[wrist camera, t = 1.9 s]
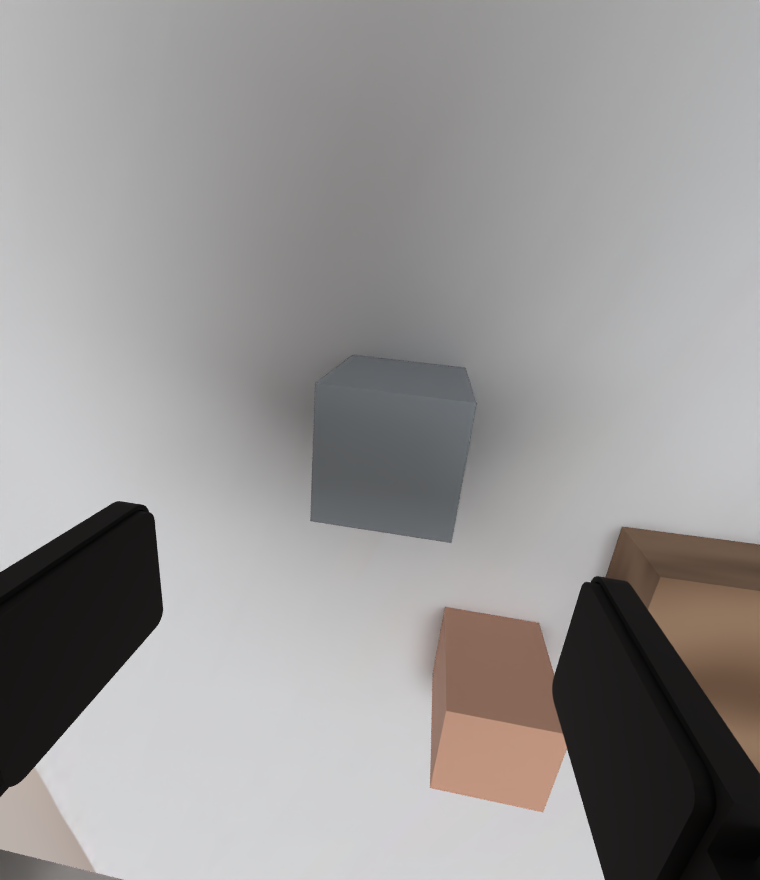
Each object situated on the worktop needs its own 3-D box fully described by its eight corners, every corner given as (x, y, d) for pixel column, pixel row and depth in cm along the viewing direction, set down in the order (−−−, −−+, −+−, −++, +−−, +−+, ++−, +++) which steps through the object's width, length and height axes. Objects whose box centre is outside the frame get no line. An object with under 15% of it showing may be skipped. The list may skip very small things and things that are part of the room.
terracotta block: (445, 606, 23) (446, 710, 17) (538, 622, 22) (571, 735, 16) (432, 673, 24) (430, 787, 19) (519, 689, 24) (543, 812, 18)
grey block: (352, 354, 18) (315, 383, 13) (465, 367, 18) (476, 402, 12) (346, 457, 20) (310, 521, 15) (448, 471, 20) (451, 542, 14)
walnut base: (619, 522, 20) (660, 576, 16) (849, 552, 19) (949, 618, 15) (570, 675, 23) (594, 748, 20) (761, 707, 22) (825, 791, 19)
